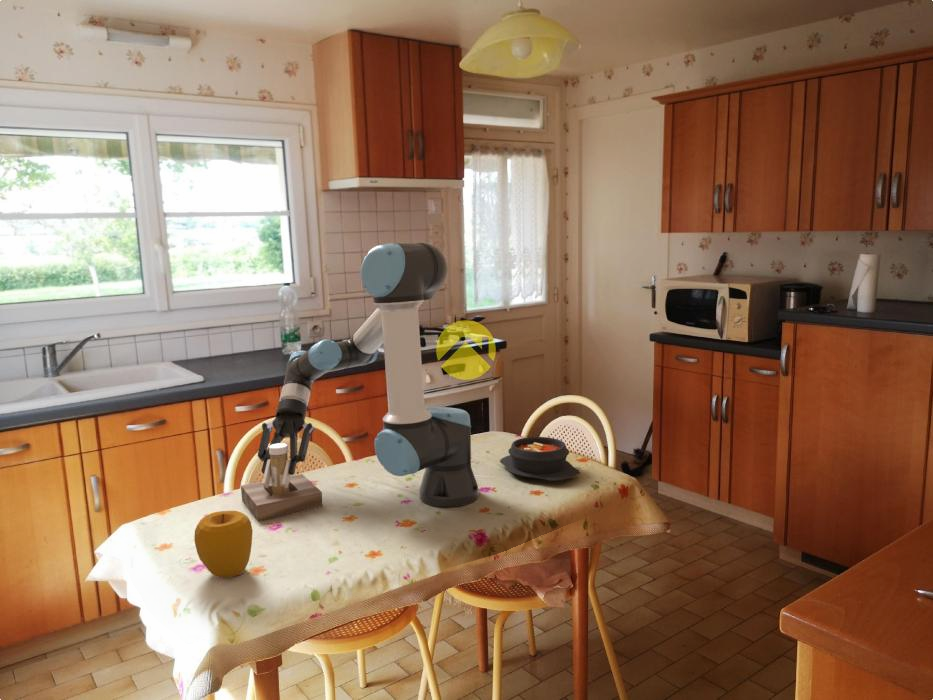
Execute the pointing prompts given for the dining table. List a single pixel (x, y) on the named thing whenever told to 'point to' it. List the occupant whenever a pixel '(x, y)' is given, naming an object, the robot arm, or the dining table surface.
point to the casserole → (539, 459)
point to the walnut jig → (281, 498)
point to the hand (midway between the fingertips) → (274, 485)
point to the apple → (224, 542)
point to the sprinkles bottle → (278, 466)
